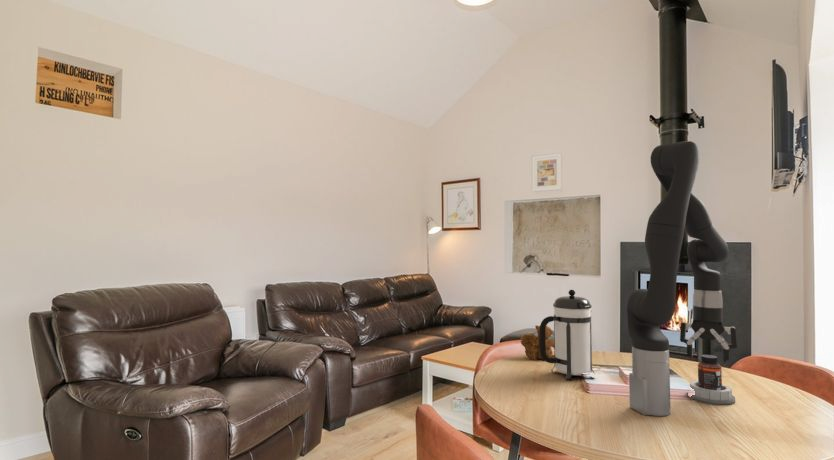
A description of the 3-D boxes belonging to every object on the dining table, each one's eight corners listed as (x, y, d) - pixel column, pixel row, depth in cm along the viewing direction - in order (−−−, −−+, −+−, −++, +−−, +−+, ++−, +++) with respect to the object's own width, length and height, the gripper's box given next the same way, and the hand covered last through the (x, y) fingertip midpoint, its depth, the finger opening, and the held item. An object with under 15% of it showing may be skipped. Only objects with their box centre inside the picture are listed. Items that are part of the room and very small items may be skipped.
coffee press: (556, 366, 169) (555, 286, 170) (600, 373, 160) (599, 289, 161) (539, 378, 155) (538, 290, 156) (587, 386, 146) (585, 293, 147)
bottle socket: (708, 406, 128) (708, 393, 128) (678, 392, 140) (677, 381, 140) (745, 403, 130) (745, 391, 130) (712, 390, 142) (712, 378, 142)
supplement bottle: (726, 398, 131) (725, 359, 132) (703, 397, 132) (702, 358, 133) (716, 391, 137) (715, 354, 138) (695, 390, 138) (694, 353, 139)
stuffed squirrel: (561, 360, 179) (561, 327, 179) (528, 362, 176) (528, 328, 176) (549, 354, 189) (549, 322, 189) (518, 356, 186) (517, 324, 186)
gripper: (679, 304, 137) (679, 358, 136) (736, 308, 129) (736, 366, 128) (681, 301, 143) (681, 353, 143) (736, 306, 135) (736, 360, 134)
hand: (707, 359), depth 135 cm, fingers open, 8 cm apart
